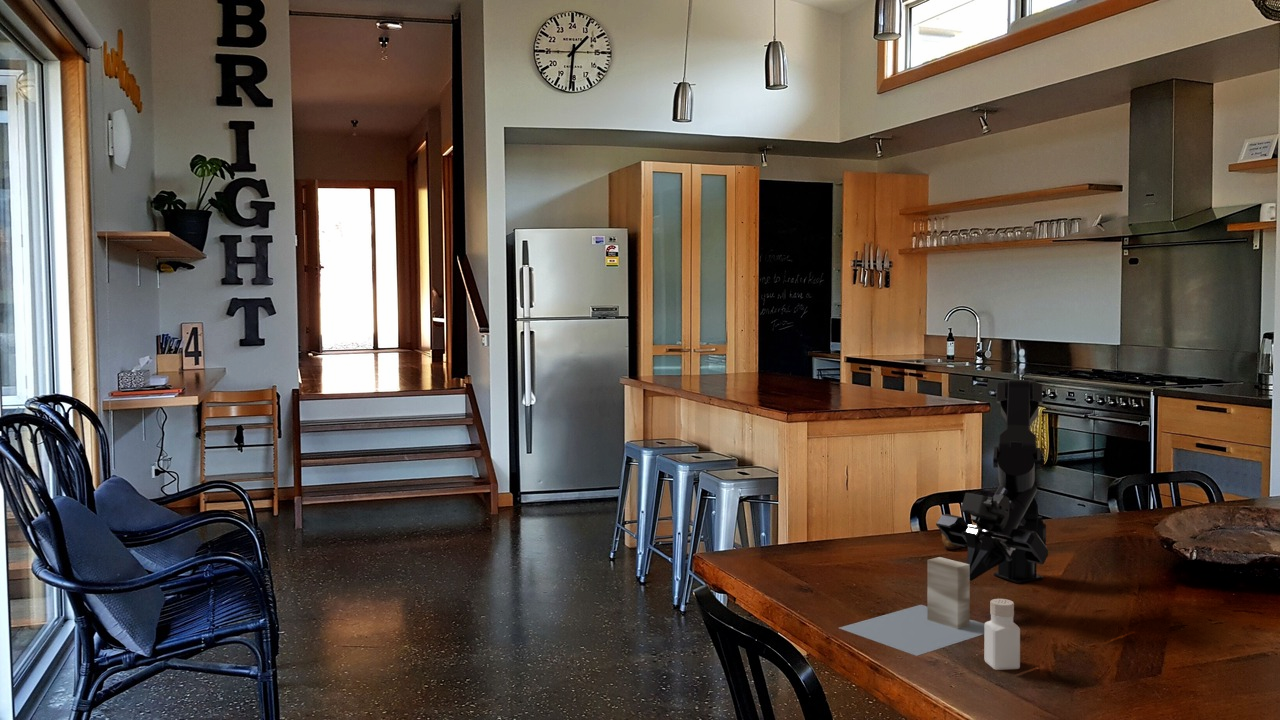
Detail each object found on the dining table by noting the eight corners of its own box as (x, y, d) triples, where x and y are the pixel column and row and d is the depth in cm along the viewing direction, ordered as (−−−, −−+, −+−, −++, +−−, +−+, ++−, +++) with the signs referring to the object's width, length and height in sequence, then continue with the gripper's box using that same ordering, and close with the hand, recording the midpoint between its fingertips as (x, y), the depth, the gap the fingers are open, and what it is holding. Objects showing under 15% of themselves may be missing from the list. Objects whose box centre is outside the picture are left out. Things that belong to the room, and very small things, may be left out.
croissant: (965, 554, 210) (965, 530, 210) (932, 550, 213) (932, 526, 213) (981, 540, 221) (981, 517, 221) (950, 536, 225) (950, 514, 225)
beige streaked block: (939, 616, 169) (939, 556, 168) (969, 625, 164) (969, 564, 163) (927, 619, 167) (927, 559, 166) (957, 629, 162) (957, 567, 161)
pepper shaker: (982, 662, 148) (982, 598, 148) (1009, 661, 149) (1009, 597, 148) (994, 672, 144) (994, 606, 144) (1021, 670, 145) (1021, 605, 144)
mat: (920, 606, 175) (920, 604, 175) (1000, 630, 162) (1000, 628, 162) (838, 629, 164) (838, 627, 164) (916, 657, 150) (916, 655, 150)
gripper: (943, 467, 177) (900, 539, 172) (1038, 482, 162) (994, 562, 156) (971, 506, 182) (931, 577, 177) (1066, 524, 167) (1025, 603, 161)
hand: (967, 579), depth 167 cm, fingers closed
